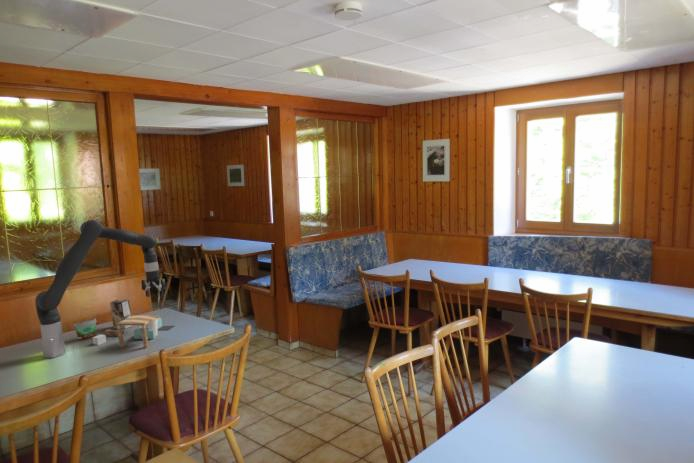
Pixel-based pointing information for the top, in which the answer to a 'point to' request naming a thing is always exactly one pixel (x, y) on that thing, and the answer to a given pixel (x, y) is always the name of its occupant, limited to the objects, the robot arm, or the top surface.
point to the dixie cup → (152, 326)
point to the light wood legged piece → (136, 320)
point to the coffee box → (120, 312)
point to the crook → (149, 332)
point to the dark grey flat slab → (165, 328)
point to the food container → (86, 329)
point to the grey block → (99, 339)
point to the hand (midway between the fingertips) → (154, 296)
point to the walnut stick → (112, 332)
